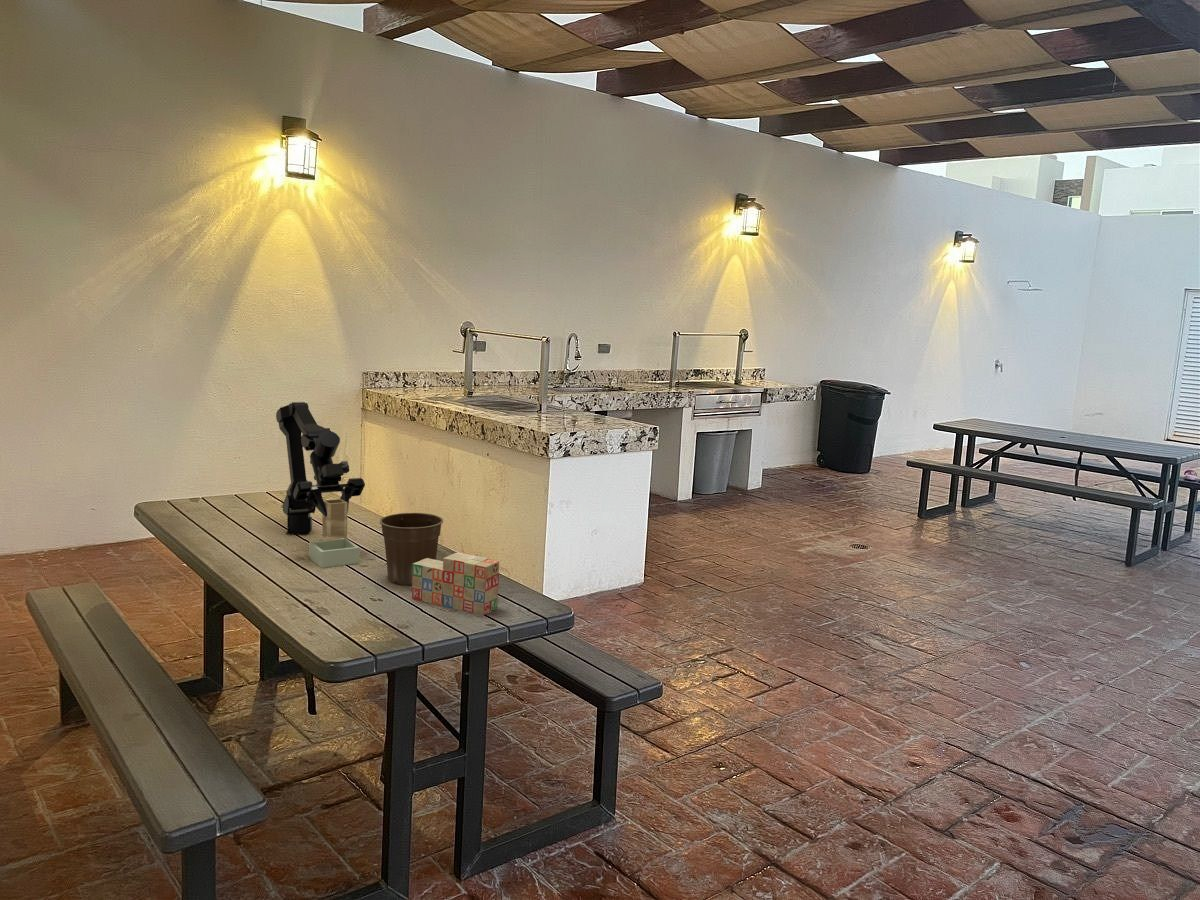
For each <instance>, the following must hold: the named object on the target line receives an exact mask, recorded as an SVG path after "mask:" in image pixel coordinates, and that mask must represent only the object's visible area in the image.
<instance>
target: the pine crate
mask: <svg viewBox="0 0 1200 900" xmlns="http://www.w3.org/2000/svg"><path fill="white" fill-rule="evenodd" d="M323 501H324V504H325V507H326V511H327V516H324V515H323V514H322V529H321V531H322V532H321V533H322V534H321V535H322V537H323V538H325V540H336V539H345V538H347V539H348V513H347V502H346V501H344V500H342V499H340V498H339V499H329V500H328V499H326V500H323Z"/></svg>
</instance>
